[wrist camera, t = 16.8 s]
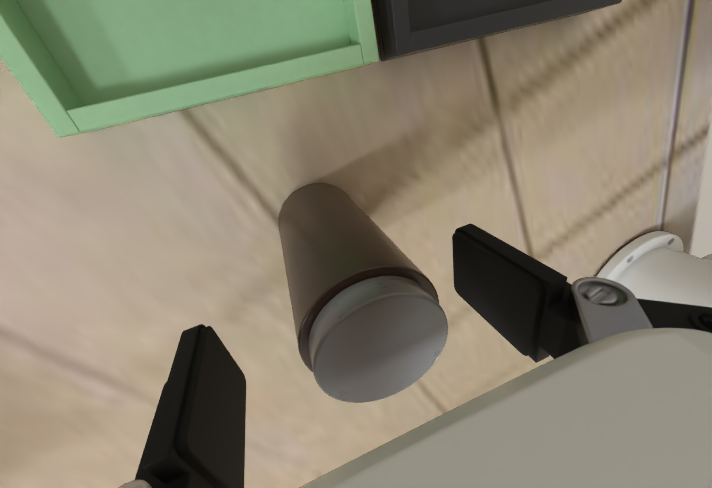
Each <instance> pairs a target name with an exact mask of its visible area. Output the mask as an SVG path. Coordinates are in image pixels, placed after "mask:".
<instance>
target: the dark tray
mask: <svg viewBox="0 0 712 488" xmlns="http://www.w3.org/2000/svg"><path fill="white" fill-rule="evenodd" d="M621 1H622V0H373V5H374V12H375V19H376V26H377V34H378V41H379V48H380V55H381V61H386V60H391V59H395V58H399V57H403V56H407V55H411V54H416V53H420V52H424V51H428V50H432V49H436V48H440V47H445V46H449V45H453V44H457V43H461V42H465V41H470V40H474V39H478V38H482V37H486V36H490V35H494V34H499V33H503V32H507V31H511V30H515V29H519V28H524V27H528V26H532V25H536V24H540V23H544V22H548V21H553V20H557V19H561V18H565V17H569V16H573V15H578V14H582V13H586V12H589V11H593V10H596V9H600V8H604V7H607V6H611V5H615V4H618V3H620V2H621Z"/></svg>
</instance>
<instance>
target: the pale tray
mask: <svg viewBox="0 0 712 488" xmlns="http://www.w3.org/2000/svg"><path fill="white" fill-rule="evenodd" d="M0 57H1V58H2V60H3V61H4V62H5V64H6V65H7V66H8V68H9V69H10V71H11V72H12V73H13V75H14V76H15V78H16V79H17V80H18V82H19V83H20V85H21V86H22V87H23V89H24V90H25V92H26V93H27V94H28V96H29V97H30V99H31V100H32V101H33V103H34V104H35V105H36V107H37V108H38V110H39V111H40V112H41V114H42V115H43V117H44V118H45V119H46V121H47V122H48V124H49V125H50V126H51V128H52V129H53V131H54V132H55V133H56V135H57V136H58V137H64V136H70V135H76V134H82V133H87V132H92V131H96V130H100V129H104V128H108V127H112V126H117V125H121V124H125V123H129V122H133V121H137V120H141V119H146V118H150V117H154V116H158V115H162V114H166V113H171V112H175V111H179V110H183V109H187V108H191V107H195V106H200V105H204V104H208V103H212V102H216V101H220V100H225V99H229V98H233V97H237V96H241V95H245V94H249V93H254V92H258V91H262V90H266V89H270V88H274V87H279V86H283V85H287V84H291V83H295V82H299V81H303V80H308V79H312V78H316V77H320V76H324V75H328V74H333V73H337V72H341V71H345V70H349V69H353V68H357V67H362V66H365V65H368V64H371V63H374V62H377V61H378V60H379V55H378V48H377V41H376V34H375V27H374V20H373V13H372V6H371V0H0Z"/></svg>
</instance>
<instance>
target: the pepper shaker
mask: <svg viewBox="0 0 712 488" xmlns="http://www.w3.org/2000/svg"><path fill="white" fill-rule="evenodd" d="M279 231H280V237H281V243H282V249H283V255H284V262H285V268H286V274H287V280H288V286H289V292H290V299H291V305H292V311H293V317H294V323H295V329H296V335H297V342H298V348H299V353H300V355H301V358H302V360H303V362H304V363H305V365H306V366H307V367H308V368H309V369H310V370H311V371H312V372H313V373H314V377H315V379H316V381H317V383H318V385H319V386H320V387H321V389H322V390H323V391H324V392H325V393H327V394H328V395H329V396H331V397H333V398H335V399H338V400H341V401H345V402H354V403H361V402H370V401H375V400H380V399H383V398H386V397H389V396H391V395H394V394H396V393H398V392H400V391H402V390H404V389H405V388H407V387H409V386H410V385H412V384H413V383H415V382H416V381H417V380H418V379H420V378H421V377H422V376H423V375H424V374H425V373H426V372H427V371H428V370H429V369H430V368H431V367H432V366H433V365H434V363H435V362H436V360H437V359H438V358H439V356H440V354H441V352H442V350H443V348H444V346H445V343H446V340H447V334H448V324H447V319H446V316H445V313H444V311H443V309H442V308H441V306H440V305H439V300H438V295H437V292H436V289H435V288H434V286H433V284H432V283H431V282H430V280H429V279H428V278H427V277H426V276H425V275H424V274H423V273H422V272H421V271H420V270H419V269H418V268H417V267H416V266H415V265H414V264H413V263H412V261H411V260H410V259H409V258H408V257H407V256H406V255H405V254H404V253H403V252H402V251H401V250H400V249H399V248H398V247H397V246H396V245H395V244H394V243H393V242H392V241H391V240H390V239H389V238H388V237H387V236H386V235H385V233H384V232H383V231H382V230H381V229H380V228H379V227H378V226H377V225H376V224H375V223H374V222H373V221H372V220H371V219H370V218H369V217H368V216H367V215H366V214H365V213H364V212H363V211H362V210H361V209H360V208H359V207H358V205H357V204H356V203H355V202H354V201H353V200H352V199H351V198H350V197H349V196H348V195H347V194H346V193H345V192H343V191H342V190H341V189H339V188H337V187H335V186H332V185H329V184H319V183H318V184H311V185H307V186H304V187H302V188H300V189H298V190H297V191H295V192H294V193H292V194H291V195H290V196H289V197H288V199H287V200H286V201H285V203H284V204H283V206H282V208H281V211H280V214H279Z"/></svg>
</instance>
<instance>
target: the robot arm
mask: <svg viewBox="0 0 712 488" xmlns="http://www.w3.org/2000/svg"><path fill="white" fill-rule="evenodd" d="M452 240H453V268H454V287H455V290H456V292H457V293H458V294H459V295H460V296H461V297H462V298H463V299H464V300H465V301H466V302H467V303H468V304H469V305H470V306H471V307H472V308H473V309H474V310H476V311H477V312H478V313H479V314H480V315H481V316H482V317H483V318H484V319H485V320H486V321H487V322H488V323H489V324H490V325H492V326H493V327H494V328H495V329H496V330H497V331H498V332H499V333H500V334H501V335H502V336H503V337H504V338H505V339H506V340H508V341H509V342H510V343H511V344H512V345H513V346H514V347H515V348H516V349H517V350H518V351H519V352H520V353H522V354H523V355H525V356H527V355H528V356H529V357H530V358H532V359H533V360H534V361H535V362H536V363H537V362H539V361H541V360H543V359H545V358H547V357H549V355H551V356H552V357H553V358H554V360H552V361H550V362H548V363H545V364H543V365H541V366H539V367H537V368H535V369H533V370H531V371H529V372H527V373H525V374H523V375H521V376H519V377H517V378H515V379H513V380H511V381H509V382H507V383H505V384H503V385H501V386H499V387H497V388H495V389H493V390H491V391H489V392H487V393H485V394H483V395H481V396H479V397H477V398H475V399H473V400H471V401H469V402H467V403H465V404H463V405H461V406H459V407H457V408H455V409H453V410H451V411H449V412H447V413H445V414H443V415H441V416H439V417H437V418H435V419H433V420H431V421H429V422H427V423H425V424H423V425H421V426H419V427H417V428H415V429H413V430H411V431H409V432H407V433H405V434H403V435H401V436H399V437H397V438H395V439H393V440H392V441H390V442H388V443H386V444H384V445H382V446H380V447H378V448H376V449H374V450H372V451H370V452H368V453H366V454H364V455H362V456H360V457H358V458H356V459H354V460H352V461H350V462H348V463H346V464H344V465H342V466H341V467H339V468H337V469H335V470H333V471H331V472H329V473H327V474H325V475H323V476H321V477H319V478H317V479H315V480H313V481H311V482H309V483H307V484H305V485H303V486H301V487H299V488H712V254H710V255H707V256H705V257H703V258H698V257H695V256H693V255H690V254H687V253H684V252H683V243H682V241H681V239H680V238H679V237H678V236H677V235H674V234H671V233H668V232H665V231H655V232H651V233H647V234H645V235H643V236H640V237H638V238H637V239H635V240H633V241H632V242H630V243H629V244H627V245H626V246H625V247H623V248H622V249H621V250H620V251H619V252H617V253H616V254H615V255H614V256H613V257H612V258H611V259H610V260H609V261H608V262H607V264H606V265H605V266H604V267H603V268H602V269H601V271H600V272H599V273H598V275H597V276H596V277H585V278H580V279H578V280H576V281H574V282H573V284H572V285H571V284H570V283H568V282H566V281H567V277H566V276H564V275H562V274H561V273H559V272H557V271H555V270H553V269H552V268H550V267H548V266H546V265H544V264H543V263H541V262H539V261H537V260H536V259H534V258H532V257H530V256H528V255H527V254H525V253H523V252H521V251H519V250H518V249H516V248H514V247H512V246H511V245H509V244H507V243H505V242H503V241H502V240H500V239H498V238H496V237H494V236H493V235H491V234H489V233H487V232H486V231H484V230H482V229H480V228H478V227H477V226H475V225H473V224H468V225H465V226H462V227H460V228H457V229H456V231H455V233H454V234H453V237H452ZM245 412H246V379H245V376H244V374H243V372H242V371H241V369H240V368H239V366H238V365H237V363H236V362H235V360H234V359H233V358H232V356H231V355H230V353H229V352H228V350H227V349H226V347H225V346H224V344H223V343H222V341H221V340H220V338H219V337H218V336H217V334H216V333H215V331H214V330H213V328H212V327H211V326H208V327H205V326H204V325H203V324H201V325H198V326H196V327H193V328H190V329H188V330H185V331H183V332H182V334H181V338H180V341H179V344H178V348H177V351H176V354H175V358H174V361H173V364H172V368H171V371H170V374H169V378H168V381H167V382H166V383H165V385H164V387H163V390H162V393H161V397H160V400H159V403H158V406H157V409H156V413H155V416H154V419H153V422H152V426H151V429H150V432H149V435H148V439H147V442H146V445H145V448H144V451H143V455H142V458H141V461H140V464H139V468H138V471H137V474H136V477H135V480H133V481H130V482H128V483H125V484H123V485H122V486H120V487H119V488H244V460H245Z"/></svg>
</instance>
